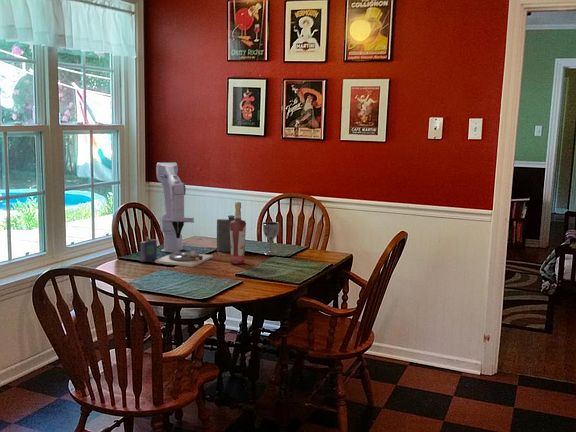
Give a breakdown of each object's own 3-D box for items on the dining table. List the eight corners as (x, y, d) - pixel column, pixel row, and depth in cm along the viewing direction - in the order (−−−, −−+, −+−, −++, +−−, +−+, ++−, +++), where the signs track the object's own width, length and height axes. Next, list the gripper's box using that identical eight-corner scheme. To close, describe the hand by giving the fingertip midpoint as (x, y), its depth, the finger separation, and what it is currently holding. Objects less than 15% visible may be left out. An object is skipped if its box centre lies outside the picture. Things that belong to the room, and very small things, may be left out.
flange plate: (162, 257, 280) (162, 249, 279) (185, 252, 291) (185, 244, 290) (186, 263, 270) (186, 254, 270) (209, 257, 281) (209, 249, 280)
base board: (177, 253, 294) (177, 248, 293) (212, 257, 288) (212, 252, 287) (154, 262, 275) (154, 256, 275) (192, 267, 269) (192, 261, 269)
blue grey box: (143, 262, 276) (142, 239, 274) (138, 261, 277) (138, 238, 275) (158, 258, 283) (157, 235, 281) (153, 257, 285) (153, 235, 283)
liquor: (243, 266, 273) (243, 204, 268) (227, 265, 274) (227, 203, 269) (247, 262, 280) (248, 202, 275) (232, 261, 281) (232, 201, 276)
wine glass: (279, 251, 303) (280, 222, 300) (277, 255, 295) (278, 224, 292) (263, 251, 303) (264, 221, 301) (261, 254, 296) (261, 224, 293)
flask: (218, 249, 304) (218, 214, 301) (245, 251, 301) (246, 215, 298) (215, 251, 300) (216, 215, 297) (243, 253, 298) (244, 217, 295)
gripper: (162, 210, 276) (162, 240, 279) (194, 210, 280) (194, 239, 282) (161, 208, 283) (161, 236, 285) (193, 207, 287) (193, 236, 289)
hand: (178, 237), depth 284 cm, fingers closed
